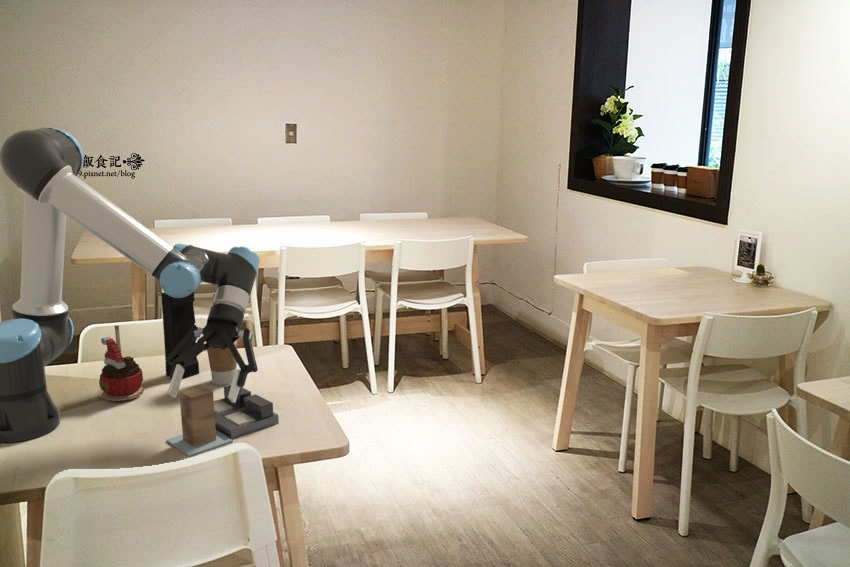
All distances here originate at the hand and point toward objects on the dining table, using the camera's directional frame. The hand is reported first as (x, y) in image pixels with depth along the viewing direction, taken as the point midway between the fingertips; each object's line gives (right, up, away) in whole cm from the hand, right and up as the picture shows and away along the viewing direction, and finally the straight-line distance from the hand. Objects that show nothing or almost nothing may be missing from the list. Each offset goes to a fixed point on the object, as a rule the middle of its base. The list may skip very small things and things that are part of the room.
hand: (201, 397), depth 162 cm
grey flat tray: (+4, -7, +12) cm, 15 cm away
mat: (-1, -9, +1) cm, 10 cm away
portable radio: (-16, 0, +40) cm, 43 cm away
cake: (-26, -4, +25) cm, 37 cm away
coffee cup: (-4, -1, +35) cm, 36 cm away
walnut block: (-1, -9, +1) cm, 9 cm away
